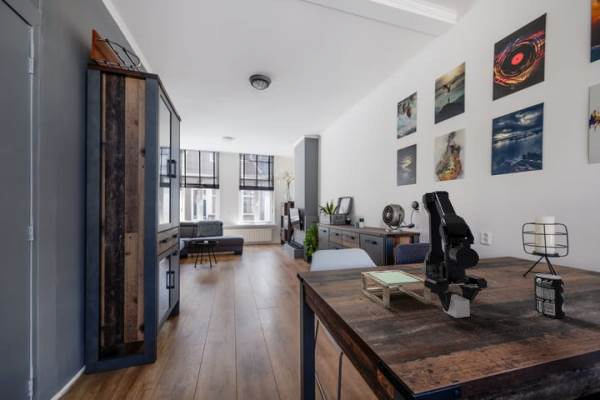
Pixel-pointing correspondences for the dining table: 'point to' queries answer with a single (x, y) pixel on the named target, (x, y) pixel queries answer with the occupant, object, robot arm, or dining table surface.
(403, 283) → the trapdoor
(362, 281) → the trapdoor frame
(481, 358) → the dining table surface
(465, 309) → the plain light gray cube
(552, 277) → the beverage can
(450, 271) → the robot arm
